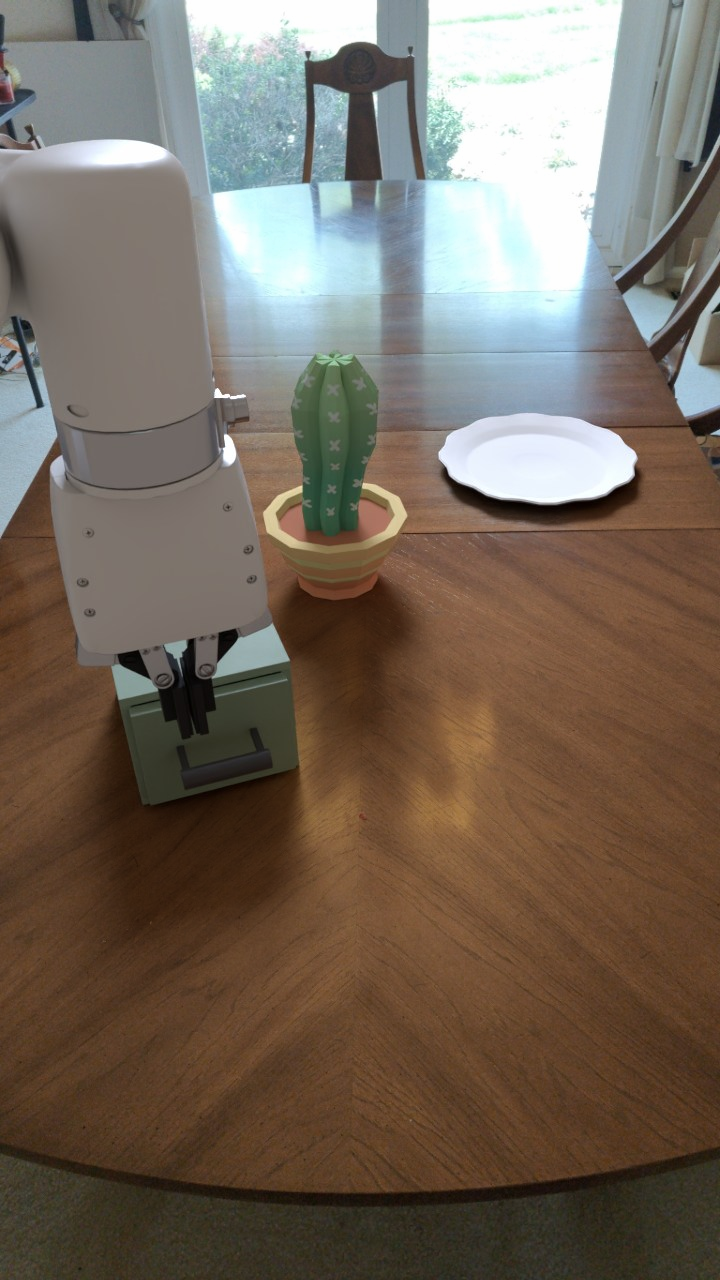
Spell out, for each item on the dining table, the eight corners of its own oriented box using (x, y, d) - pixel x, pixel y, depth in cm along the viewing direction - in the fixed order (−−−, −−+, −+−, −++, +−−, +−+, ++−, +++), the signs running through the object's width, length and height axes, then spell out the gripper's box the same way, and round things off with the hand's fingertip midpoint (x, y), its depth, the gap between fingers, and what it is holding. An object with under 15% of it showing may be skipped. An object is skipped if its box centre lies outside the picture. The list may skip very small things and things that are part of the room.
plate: (418, 501, 122) (419, 487, 120) (462, 417, 140) (463, 404, 139) (625, 528, 115) (627, 514, 114) (642, 436, 134) (644, 423, 133)
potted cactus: (433, 564, 110) (438, 348, 95) (355, 634, 100) (347, 405, 85) (322, 527, 117) (310, 320, 102) (239, 589, 107) (213, 369, 92)
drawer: (310, 804, 81) (303, 715, 75) (159, 844, 78) (139, 755, 72) (254, 667, 95) (245, 583, 89) (125, 697, 92) (106, 612, 86)
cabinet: (299, 765, 86) (290, 660, 79) (142, 805, 82) (118, 700, 75) (255, 659, 98) (244, 560, 90) (117, 691, 94) (94, 591, 87)
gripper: (273, 381, 51) (295, 656, 62) (-26, 428, 47) (55, 711, 59) (314, 441, 45) (331, 732, 57) (-21, 500, 42) (67, 798, 53)
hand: (191, 721), depth 58 cm, fingers closed
